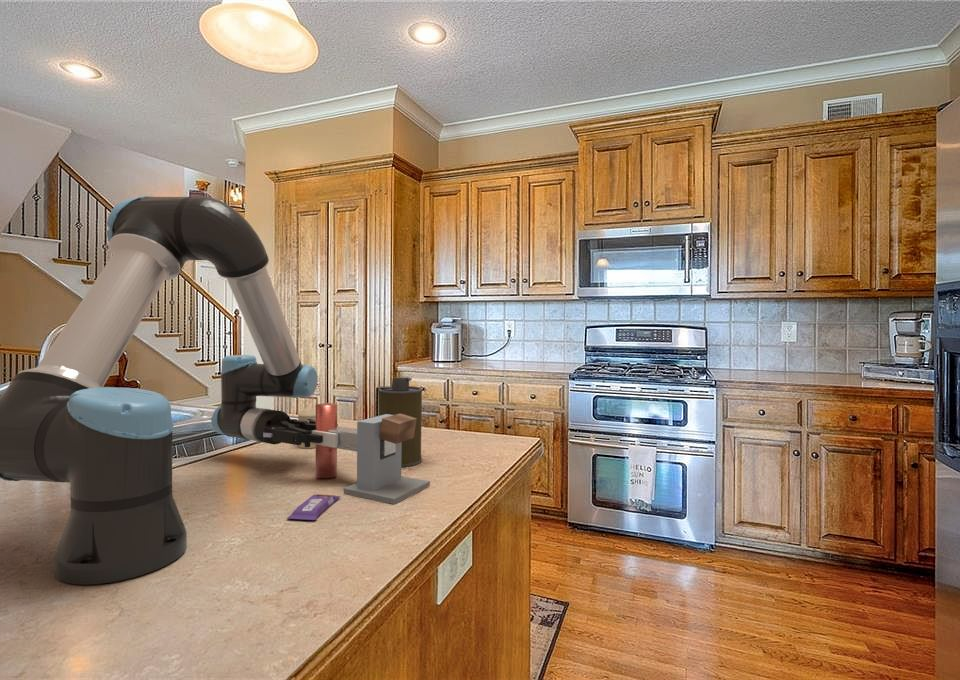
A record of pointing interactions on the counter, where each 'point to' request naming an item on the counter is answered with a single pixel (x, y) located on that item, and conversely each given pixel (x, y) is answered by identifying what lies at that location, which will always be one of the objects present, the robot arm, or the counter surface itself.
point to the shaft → (346, 441)
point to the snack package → (313, 507)
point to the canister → (403, 402)
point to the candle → (303, 416)
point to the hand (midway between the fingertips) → (345, 438)
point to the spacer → (397, 428)
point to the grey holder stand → (380, 468)
